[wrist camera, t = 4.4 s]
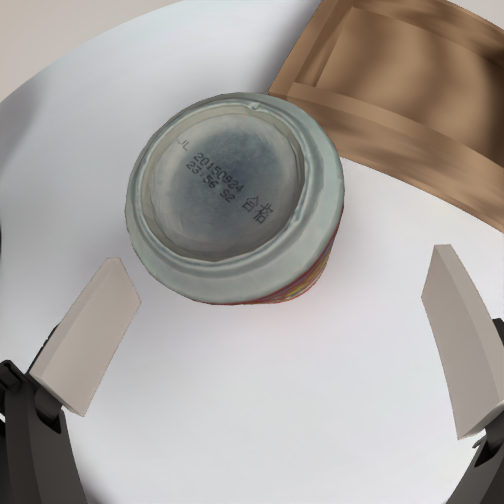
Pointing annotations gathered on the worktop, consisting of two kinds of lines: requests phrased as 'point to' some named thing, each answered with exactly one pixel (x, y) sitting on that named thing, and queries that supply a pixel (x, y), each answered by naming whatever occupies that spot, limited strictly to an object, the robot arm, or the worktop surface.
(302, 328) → the worktop surface
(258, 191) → the soda can
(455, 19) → the walnut box
